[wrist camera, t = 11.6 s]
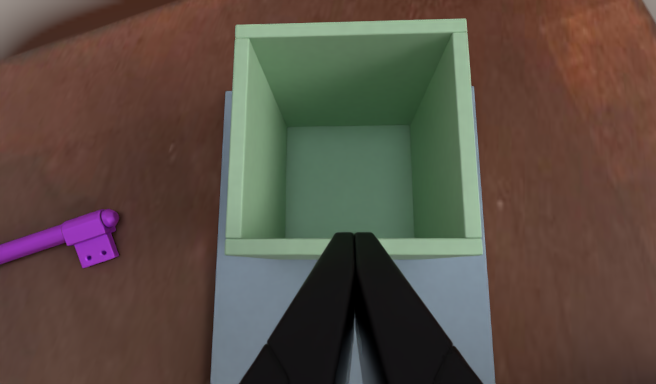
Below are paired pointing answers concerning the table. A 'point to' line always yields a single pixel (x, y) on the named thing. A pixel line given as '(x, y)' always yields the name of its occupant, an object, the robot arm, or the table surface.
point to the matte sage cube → (352, 139)
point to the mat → (288, 276)
